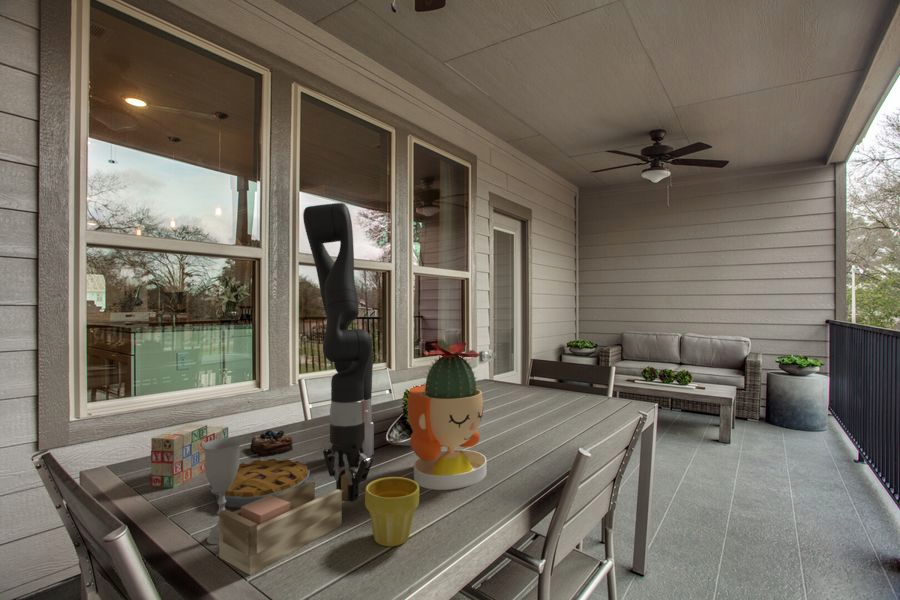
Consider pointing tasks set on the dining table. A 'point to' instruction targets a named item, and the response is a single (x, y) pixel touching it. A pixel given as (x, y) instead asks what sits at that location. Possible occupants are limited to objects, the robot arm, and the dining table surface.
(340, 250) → the robot arm
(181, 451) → the stack of blocks
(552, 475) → the dining table surface
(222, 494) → the chalice
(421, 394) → the potted cactus
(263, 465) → the pie
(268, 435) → the pastry
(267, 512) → the pull block
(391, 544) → the plant pot
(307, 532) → the light wooden box
